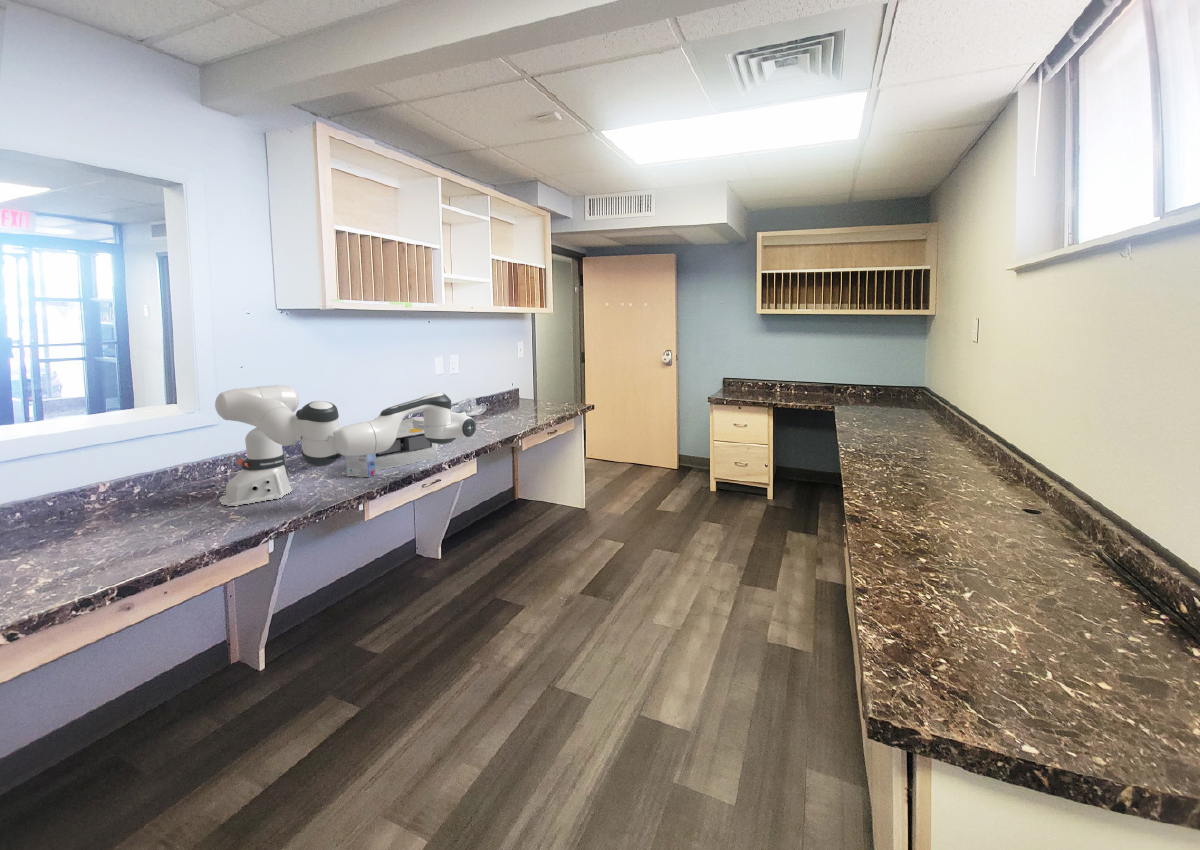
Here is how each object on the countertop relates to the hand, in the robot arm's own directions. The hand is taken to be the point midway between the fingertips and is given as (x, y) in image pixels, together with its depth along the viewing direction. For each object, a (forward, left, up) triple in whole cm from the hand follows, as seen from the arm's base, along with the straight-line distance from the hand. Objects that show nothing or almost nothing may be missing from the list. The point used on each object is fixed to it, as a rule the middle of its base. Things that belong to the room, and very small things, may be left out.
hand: (429, 418), depth 230 cm
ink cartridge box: (-23, +15, -22) cm, 35 cm away
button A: (-9, +21, -15) cm, 27 cm away
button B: (+3, +17, -15) cm, 23 cm away
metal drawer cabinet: (-3, +21, -22) cm, 31 cm away
